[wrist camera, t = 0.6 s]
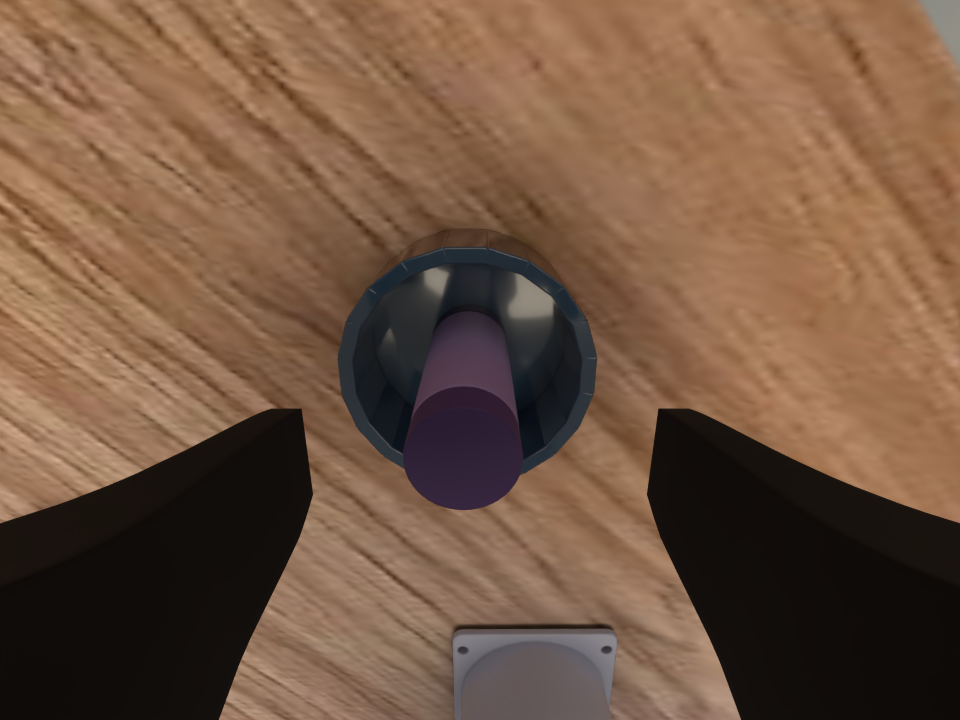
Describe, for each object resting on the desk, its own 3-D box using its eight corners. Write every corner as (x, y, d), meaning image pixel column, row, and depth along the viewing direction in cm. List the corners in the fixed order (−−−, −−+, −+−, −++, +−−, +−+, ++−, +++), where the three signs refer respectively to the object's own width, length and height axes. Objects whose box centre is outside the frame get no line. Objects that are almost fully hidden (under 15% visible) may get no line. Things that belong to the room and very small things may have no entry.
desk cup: (569, 428, 22) (587, 484, 19) (372, 429, 22) (350, 485, 19) (582, 227, 19) (606, 246, 16) (354, 228, 19) (324, 247, 16)
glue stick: (505, 373, 21) (521, 511, 13) (433, 374, 21) (405, 511, 13) (506, 304, 20) (524, 407, 12) (431, 304, 20) (399, 407, 12)
